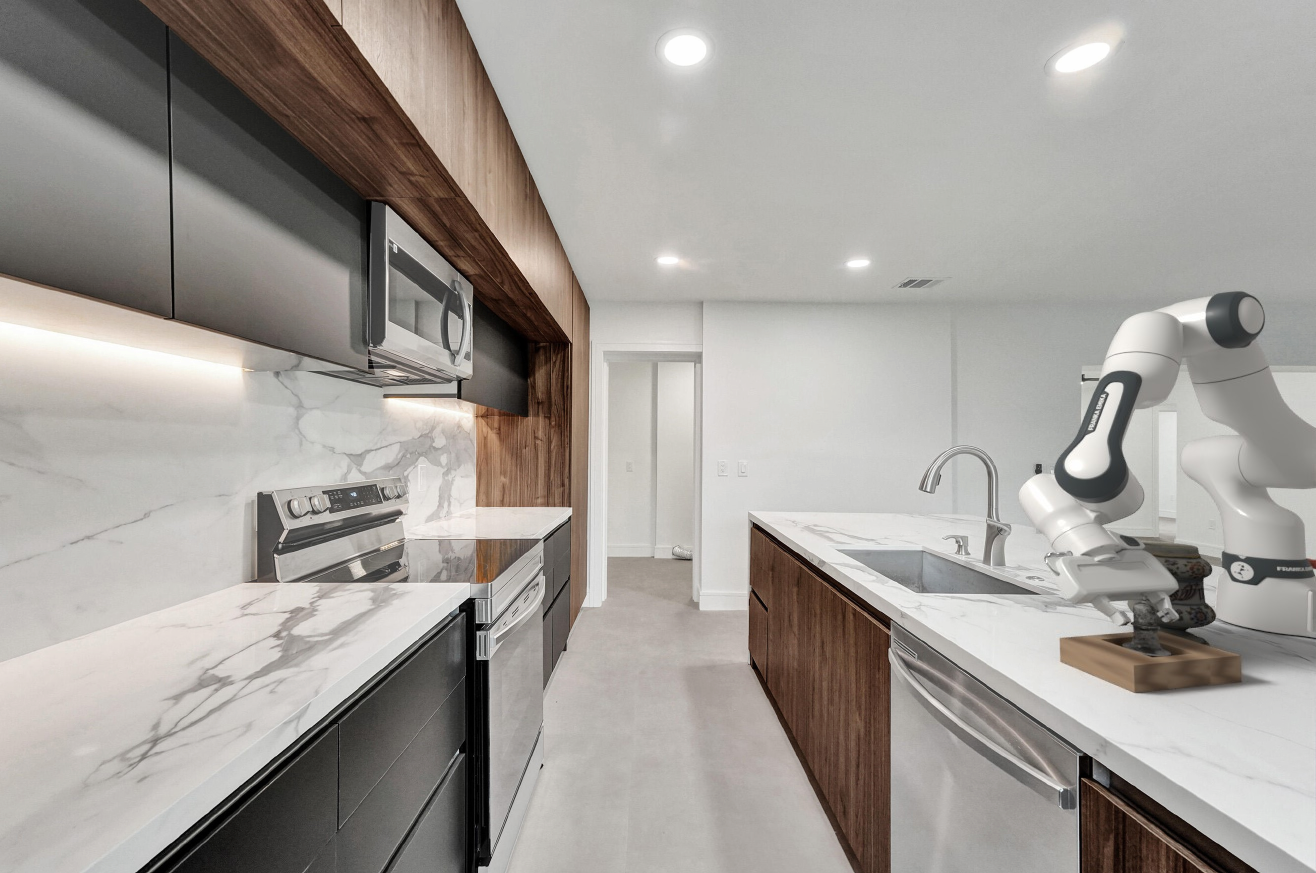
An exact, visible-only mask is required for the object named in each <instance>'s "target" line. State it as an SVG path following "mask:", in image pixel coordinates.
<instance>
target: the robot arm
mask: <svg viewBox="0 0 1316 873" xmlns="http://www.w3.org/2000/svg"><path fill="white" fill-rule="evenodd" d="M1265 323H1266V315H1265V309H1264V307H1263V305H1262V303H1261V302H1260V300H1259V299H1258V298H1257V297H1255V296H1254V295H1252V294H1250V293H1248V292H1245V291H1243V290H1240V291H1239V290H1238V291H1236V290H1235V291H1224V292H1217V293H1215V294H1214V295H1208V296H1203V297H1198V298H1193V299H1192V298H1191V299H1187V300H1184V301H1180V302H1175V303H1173V304H1171V305H1167V306H1164V307H1160V308H1158V309H1155V310H1152V311H1143V312H1139V313H1136V314H1133V315H1132V316H1131V315H1130V317H1128V318H1126V319H1124V321H1123V322H1122V323H1121V324H1120V325H1119V327H1118V328H1117V329H1116V332H1115V335H1114V337H1113V338H1112V340H1111V343H1110V345H1109V347H1108V350H1107V353H1106V355H1105V357H1104V361H1103V365H1102V367H1101V371H1100V375H1099V379H1098V383H1097V385H1096V387H1095V390H1094V392H1093V394H1092V396H1091V398H1090V401H1089V404H1088V407H1087V408H1086V411H1085V414H1084V416H1083V419H1082V422H1081V424H1080V427H1079V428H1078V432H1077V434H1076V435H1075V437H1074V439H1073V440H1072V442H1071V443H1070V444H1069V445H1068V446H1067V447H1066V448H1065V450H1063V452H1062V453H1061V454H1059V455H1060V456H1059V457H1058V458H1057V460H1056V461H1055V465H1054V467H1053V468H1054V470H1053V471H1054V472H1053V473H1045V472H1043V473H1041V472H1040V473H1038V474H1036V475H1033V476H1032V477H1029V479H1027V480H1026V481H1025V482H1024V483H1023V485H1022V486H1021V487H1020V489H1019V492H1018V494H1017V495H1018V502H1019V505H1020V506H1021V509H1022V511H1023V512H1024V513H1025V515H1026V516H1027V517H1028V519H1029V520H1030V522H1031V524H1032V525H1033V526H1034V527H1035V529H1036V530H1037V531H1038V532H1039V533H1040V534H1042V535H1043V536H1045V538H1046V539H1047V540H1048V543H1049V545H1050V547H1051V549H1052V550H1053V552H1051V551H1050V552H1047V553H1046V554H1045V556H1044V558H1043V562H1044V564H1045V566H1046V567H1047V568H1048V569H1049V573H1050V576H1051V577H1052V580H1053V581H1054V583H1055V585H1056V587H1057V588H1058V589H1059V591H1060V592H1061V595H1063V597H1064V598H1065V599H1066V600H1068V602H1069V603H1072V604H1075V605H1082V604H1083V605H1084V604H1091V605H1092V606H1093V607H1094V609H1096V610H1097V611H1099V612H1100V613H1102V614H1103V615H1104V616H1106V617H1108V618H1109V619H1110V620H1111V622H1112V623H1113V624H1114V625H1115V626H1116V627H1123V626H1124V627H1125V626H1127V625H1129V624H1131V622H1132V620H1131V618H1130V616H1128V614H1127V613H1126V611H1125V610H1123V611H1121V610H1119V609H1118V608H1117V607H1116V606H1114V605H1113V604H1112V603H1110V602H1125V601H1127V602H1128V600H1142V598H1143V597H1145V598H1146V599H1149V600H1150V601H1151V602H1152V603H1153V604H1156V605H1157V607H1158V609H1159V612H1158V613H1157V615H1158V616H1159V617H1160V618H1162V620H1163V621H1164V622H1174V621H1176V620H1177V619H1179V615H1178V614H1177V613H1176V612H1175V611H1174V610H1173V609H1172V605H1171V602H1170V598H1169V597H1168V596H1169V595H1171V594H1172V593H1174V592H1175V591H1176V590H1178V583H1177V581H1176V579H1175V578H1174V577H1173V576H1172V575H1171V573H1170V572H1169V571H1168V570H1167V569H1166V568H1165V567H1164V566H1163V565H1162V564H1161V563H1160V562H1159V561H1158V560H1157V559H1156V558H1155V557H1154V556H1153V555H1151V554H1150V553H1148V552H1146V551H1143V550H1142V549H1143V548H1145V545H1144V544H1143V543H1142V542H1143V541H1142V540H1141V539H1139V538H1137V537H1136V536H1135V537H1134V536H1130V535H1127V534H1126V535H1125V534H1122V533H1118V532H1115V531H1113V530H1109V529H1106V528H1105V527H1104V525H1108V524H1110V523H1113V522H1117V521H1119V520H1121V519H1125V518H1127V517H1129V516H1132V515H1133V514H1135V513H1136V512H1138V511H1139V510H1140V508H1141V507H1142V506H1143V504H1144V501H1145V492H1144V488H1143V486H1142V485H1141V483H1140V482H1139V480H1138V478H1137V477H1136V476H1135V474H1133V472H1132V471H1131V469H1130V468H1129V466H1128V462H1127V460H1126V458H1125V455H1124V453H1123V445H1124V444H1123V443H1124V441H1125V438H1126V435H1127V433H1128V429H1129V427H1130V424H1131V420H1132V418H1133V416H1134V413H1135V411H1136V410H1145V409H1151V408H1153V407H1156V406H1158V405H1160V404H1163V403H1165V401H1167V399H1168V397H1169V396H1171V395H1170V394H1171V393H1172V391H1173V390H1174V387H1175V385H1176V382H1177V380H1178V378H1179V372H1180V368H1181V364H1182V359H1185V363H1186V367H1187V371H1188V376H1189V378H1190V381H1191V384H1192V387H1193V390H1194V392H1195V395H1196V398H1197V402H1198V403H1199V407H1200V409H1201V412H1202V413H1203V415H1204V416H1205V417H1206V418H1208V419H1209V420H1211V421H1213V422H1215V423H1218V424H1220V425H1224V426H1226V427H1228V428H1230V430H1233V431H1234V432H1236V433H1237V434H1231V435H1230V434H1228V435H1227V434H1225V435H1220V434H1219V435H1215V436H1213V435H1212V436H1207V437H1202V438H1199V439H1193V440H1191V441H1189V442H1188V443H1186V445H1185V446H1183V448H1182V451H1181V452H1180V455H1179V464H1180V468H1181V470H1182V471H1183V473H1184V474H1185V475H1186V476H1187V477H1188V478H1189V479H1191V480H1193V481H1194V482H1196V483H1197V484H1199V485H1200V487H1202V488H1203V489H1204V490H1205V491H1206V492H1207V494H1209V496H1210V497H1211V499H1212V500H1213V501H1214V504H1215V505H1216V507H1217V510H1218V511H1219V516H1220V518H1221V524H1222V526H1221V527H1222V532H1223V548H1224V550H1223V551H1221V556H1220V561H1221V568H1223V569H1224V570H1223V572H1222V573H1221V574H1219V575H1218V576H1217V582H1216V589H1215V590H1216V594H1215V605H1210V606H1211V607H1212V608H1213V610H1214V611H1215V613H1216V618H1217V619H1219V620H1221V621H1223V622H1226V623H1229V624H1233V625H1236V626H1240V627H1243V628H1247V629H1248V628H1249V629H1254V630H1258V631H1264V632H1268V633H1269V632H1270V633H1275V634H1282V635H1283V634H1284V635H1289V636H1291V635H1293V636H1300V637H1301V636H1302V637H1310V638H1315V639H1316V578H1315V577H1316V574H1315V571H1314V570H1316V559H1311V558H1307V554H1306V552H1307V550H1306V530H1305V523H1304V521H1303V519H1302V518H1301V517H1300V516H1299V515H1298V514H1297V513H1295V512H1294V511H1292V510H1291V509H1290V510H1289V509H1288V508H1285V507H1283V506H1281V505H1280V504H1278V503H1277V502H1275V500H1273V498H1271V496H1270V494H1269V492H1268V490H1267V488H1269V489H1271V488H1272V489H1293V490H1310V489H1316V427H1315V426H1313V425H1312V424H1310V423H1308V422H1307V421H1306V420H1304V419H1303V418H1302V417H1301V416H1299V415H1297V414H1296V413H1295V412H1294V411H1293V410H1292V408H1290V406H1288V404H1287V403H1286V401H1285V400H1284V398H1283V396H1282V395H1281V393H1280V391H1279V389H1278V386H1277V383H1276V381H1275V379H1274V377H1273V373H1272V371H1271V368H1270V366H1269V363H1268V360H1267V357H1266V356H1265V353H1264V351H1263V349H1262V346H1261V345H1260V343H1259V342H1258V340H1257V338H1258V337H1259V335H1261V333H1262V331H1263V329H1264V327H1265Z"/></svg>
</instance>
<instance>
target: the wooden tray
mask: <svg viewBox="0 0 1316 873" xmlns="http://www.w3.org/2000/svg"><path fill="white" fill-rule="evenodd" d="M1133 636H1134V634H1133V631H1130V632H1117V633H1105V634H1103V633H1102V634H1093V635H1092V634H1091V635H1079V636H1078V635H1076V636H1066V637H1065V636H1064V637H1059V659H1060V660H1059V661H1060V662H1061V663H1062V664H1065V665H1068V666H1070V667H1072V668H1075V669H1077V670H1079V671H1082V672H1085V673H1087V674H1089V675H1092V676H1093V677H1096V678H1099V679H1101V680H1103V681H1105V682H1108V683H1111V684H1113V685H1115V686H1118V687H1119V688H1122V689H1124V690H1127V691H1129V692H1132V693H1134V694H1136V693H1135V692H1138V693H1145V692H1157V691H1165V690H1174V689H1175V688H1176V689H1185V688H1193V687H1203V686H1212V685H1213V686H1214V685H1220V684H1221V685H1223V684H1232V683H1240V682H1243V674H1242V670H1243V669H1242V655H1240V654H1238V653H1233V652H1231V651H1226V650H1225V649H1220V648H1218V647H1214V646H1210V645H1209V646H1207V645H1204V644H1201V643H1197V642H1194V641H1191V640H1187V639H1184V638H1180V637H1177V636H1174V635H1170V634H1167V633H1164V632H1160V631H1158V641H1159V644H1160V646H1161V647H1162V648H1164V649H1166V650H1168V651H1169V652H1170V653H1171V655H1170V656H1162V657H1150V656H1147V655H1144V654H1141V653H1138V652H1135V651H1132V650H1130V649H1127V648H1124V647H1123V646H1122V644H1124V643H1129V642H1132V639H1133ZM1176 689H1175V690H1176Z"/></svg>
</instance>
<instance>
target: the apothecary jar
mask: <svg viewBox="0 0 1316 873" xmlns="http://www.w3.org/2000/svg"><path fill="white" fill-rule="evenodd" d="M1141 542H1142V543H1143V544H1144V545H1145V548H1143V549H1142V550H1143V551H1146V552H1148V553H1150V554H1151V555H1153V556H1154V557H1155V558H1156V559H1157V560H1158V561H1159V562H1160V563H1161V564H1162V565H1163V566H1164V567H1165V568H1166V569H1167V570H1168V571H1169V572H1170V573H1171V575H1172V576H1173V577H1174V578H1175V579H1176V581H1177V583H1178V590H1176V591H1175V592H1174V593H1172V594H1171V595H1169V596H1168V597H1169V598H1170V602H1171V605H1172V609H1173V610H1174V611H1175V612H1176V613H1177V614H1178V615H1179V619H1177V620H1176V621H1174V622H1164V621H1163V620H1162V618H1160V617H1159V616H1158V615H1157V613H1158V612H1159V609H1158V607H1157V605H1156V604H1153V603H1152V602H1151V601H1150V600H1149V599H1147V600H1146V602H1148V603H1149V604H1151V605H1153V606H1154V607H1155V608H1156V615H1157V625H1158V626H1159V627H1160V629H1158V631H1160V632H1164V633H1167V634H1170V635H1174V636H1177V637H1180V638H1184V639H1187V640H1191V641H1194V642H1197V643H1201V644H1204V645H1207V646H1210V643H1209V641H1208V640H1206V639H1205V638H1203V637H1201V636H1198V635H1196V634H1195V633H1193V632H1190V631H1187V630H1189V629H1199V628H1203V627H1206V626H1209V625H1211V624H1212V623H1214V621H1216V618H1217V617H1216V613H1215V611H1214V610H1213V608H1212V607H1211V606H1212V605H1210V604H1209V603H1207V602H1206V595H1205V588H1204V587H1205V586H1204V585H1205V582H1204V581H1205V580H1204V579H1206V578H1208V577H1209V576H1210V575H1211V574H1212V573H1213V567H1212V565H1211V563H1209V562H1208V560H1206V559H1204V558H1203V557H1201V554H1200V552H1199V551H1200V550H1199V548H1198V546H1195V545H1192V544H1185V543H1177V542H1167V541H1166V542H1164V541H1141ZM1141 601H1142V600H1128V601H1127V607H1128V609H1129V610H1130V612H1132V613H1133V605H1134V604H1135V603H1138V602H1141Z"/></svg>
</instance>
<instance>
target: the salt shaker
mask: <svg viewBox="0 0 1316 873" xmlns="http://www.w3.org/2000/svg"><path fill="white" fill-rule="evenodd" d="M1146 600H1147V599H1146V598H1145V597H1143V598H1142V601H1141V602H1138V603H1135V604H1134V605H1133V612H1132V614H1133V621H1131V622H1130V625H1131V626H1132V630H1133V631H1132V632H1133V634H1134V636H1133V639H1132V642H1129V643H1124V644H1122V646H1123V647H1124V648H1127V649H1130V650H1132V651H1135V652H1138V653H1141V654H1144V655H1147V656H1150V657H1162V656H1170V655H1171V653H1170V652H1169V651H1168V650H1166V649H1164V648H1162V647H1161V646H1160V644H1159V641H1158V629H1160V627H1159V626H1158V625H1157V615H1156V608H1155V607H1154V606H1153V605H1151V604H1149V603H1148V602H1146Z"/></svg>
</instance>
